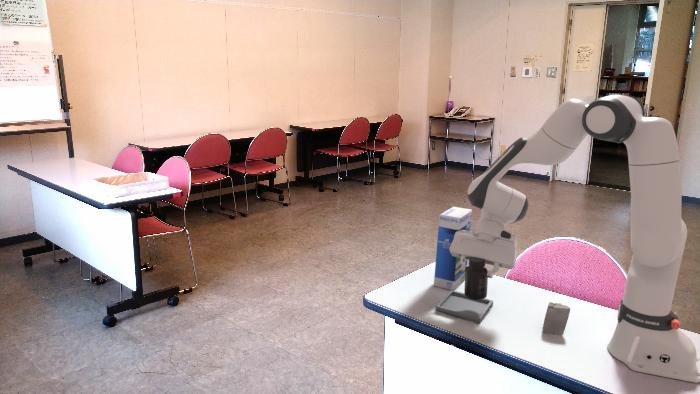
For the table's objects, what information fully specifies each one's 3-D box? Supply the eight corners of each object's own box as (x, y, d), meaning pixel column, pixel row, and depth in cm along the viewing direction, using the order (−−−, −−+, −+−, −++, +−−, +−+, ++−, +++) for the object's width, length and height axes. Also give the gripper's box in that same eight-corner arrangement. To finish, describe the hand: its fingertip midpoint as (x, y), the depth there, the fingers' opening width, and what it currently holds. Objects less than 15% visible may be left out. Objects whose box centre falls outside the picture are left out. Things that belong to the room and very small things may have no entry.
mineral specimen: (575, 334, 150) (573, 309, 148) (544, 338, 151) (542, 313, 148) (566, 320, 157) (564, 296, 155) (536, 324, 158) (534, 301, 156)
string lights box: (453, 291, 177) (459, 218, 170) (432, 285, 180) (437, 214, 174) (466, 278, 188) (473, 209, 181) (446, 273, 191) (452, 205, 185)
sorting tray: (492, 305, 167) (493, 300, 167) (479, 323, 155) (480, 318, 155) (450, 295, 174) (451, 290, 173) (435, 311, 162) (435, 306, 161)
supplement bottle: (484, 291, 165) (487, 255, 162) (488, 301, 158) (491, 263, 155) (462, 290, 165) (464, 255, 162) (465, 300, 159) (467, 263, 156)
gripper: (455, 223, 167) (441, 261, 162) (520, 236, 158) (508, 277, 152) (458, 233, 172) (445, 270, 167) (521, 246, 163) (510, 286, 157)
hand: (475, 273), depth 159 cm, fingers closed on supplement bottle, 7 cm apart
